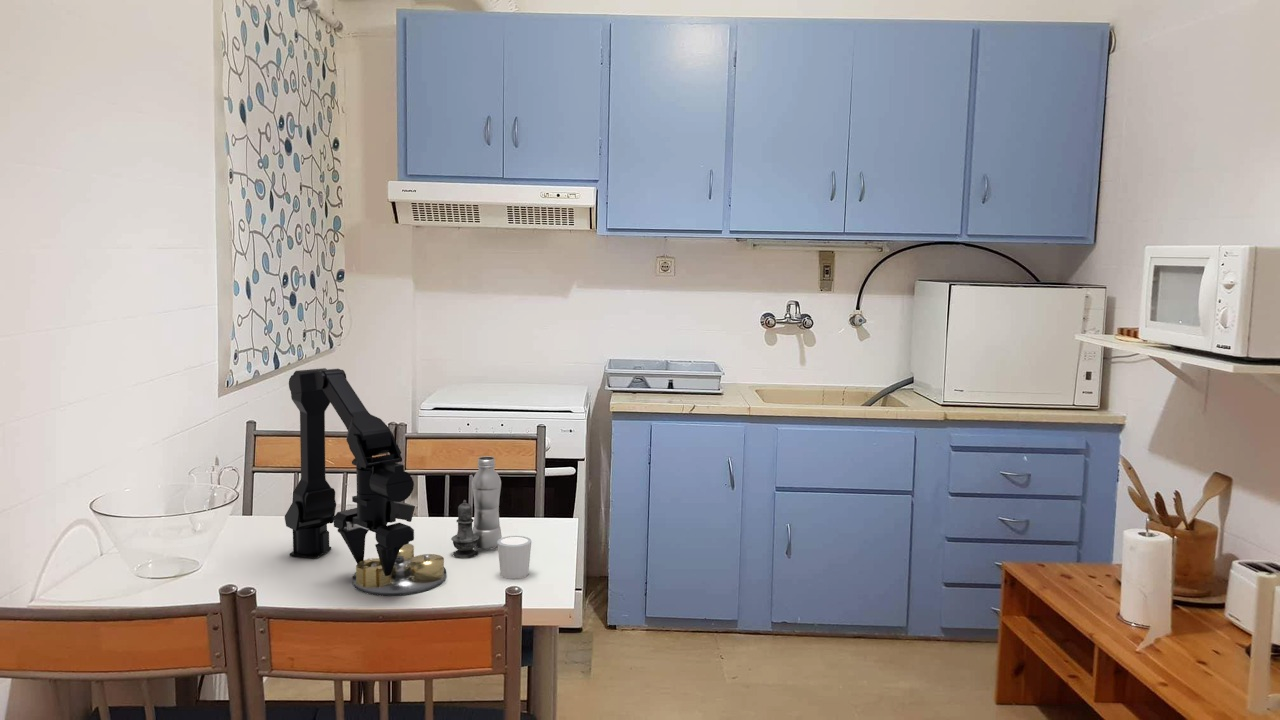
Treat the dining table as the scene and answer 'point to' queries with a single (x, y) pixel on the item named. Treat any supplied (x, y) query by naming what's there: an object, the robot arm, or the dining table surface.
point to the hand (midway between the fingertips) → (373, 569)
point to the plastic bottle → (486, 504)
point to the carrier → (410, 574)
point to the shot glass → (514, 556)
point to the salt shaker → (465, 533)
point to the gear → (371, 574)
